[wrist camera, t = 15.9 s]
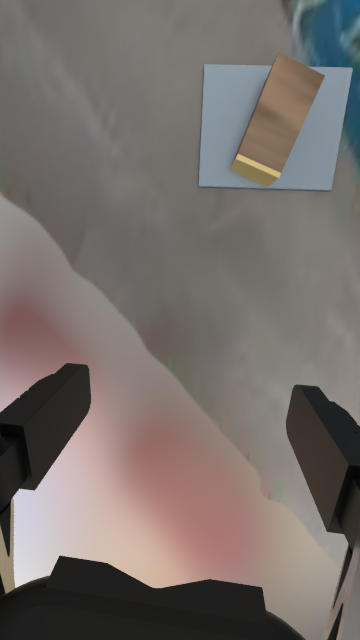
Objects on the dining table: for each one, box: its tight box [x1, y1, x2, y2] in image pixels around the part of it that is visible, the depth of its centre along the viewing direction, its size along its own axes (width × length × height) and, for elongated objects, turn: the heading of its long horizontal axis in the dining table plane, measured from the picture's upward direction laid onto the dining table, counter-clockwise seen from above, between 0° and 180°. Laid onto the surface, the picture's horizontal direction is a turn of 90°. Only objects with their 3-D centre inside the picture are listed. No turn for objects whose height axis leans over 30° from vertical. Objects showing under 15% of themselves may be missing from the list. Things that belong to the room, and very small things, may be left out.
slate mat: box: [199, 64, 353, 191], centre depth 29 cm, size 16×12×1 cm
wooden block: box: [230, 53, 325, 187], centre depth 27 cm, size 4×5×10 cm
